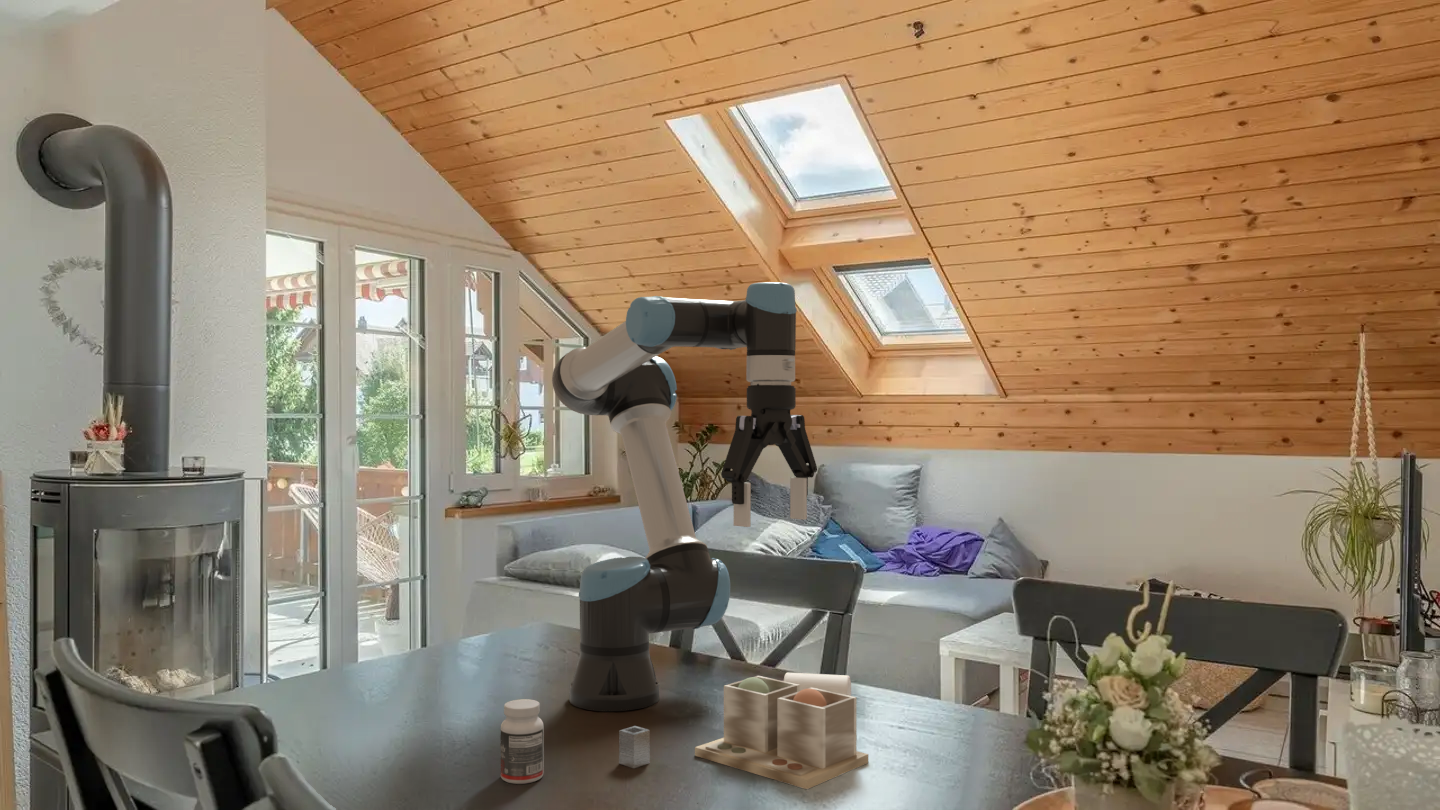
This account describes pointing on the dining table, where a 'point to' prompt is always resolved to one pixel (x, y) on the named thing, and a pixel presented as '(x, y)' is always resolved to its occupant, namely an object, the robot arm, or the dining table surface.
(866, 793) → the dining table surface
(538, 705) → the pill bottle
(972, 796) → the dining table surface
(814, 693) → the ball terracotta
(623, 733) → the post
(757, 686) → the ball sage upper
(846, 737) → the rack
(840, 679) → the mug
